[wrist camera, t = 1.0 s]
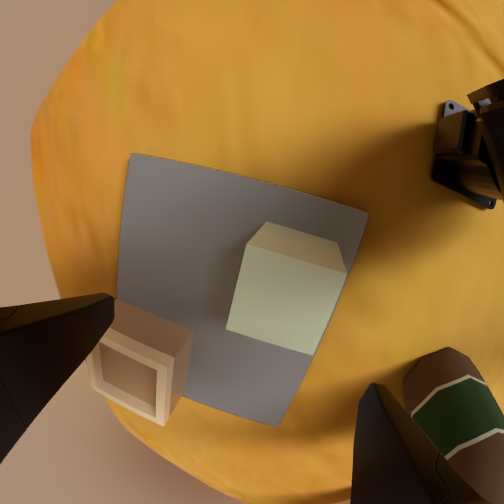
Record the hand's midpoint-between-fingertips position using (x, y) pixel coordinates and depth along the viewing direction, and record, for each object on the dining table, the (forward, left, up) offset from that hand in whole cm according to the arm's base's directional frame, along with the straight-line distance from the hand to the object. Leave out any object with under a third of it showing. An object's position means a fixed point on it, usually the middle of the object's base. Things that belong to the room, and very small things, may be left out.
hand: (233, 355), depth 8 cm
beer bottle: (-18, +8, -13) cm, 24 cm away
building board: (+4, +7, -13) cm, 15 cm away
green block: (-1, +1, -12) cm, 12 cm away
